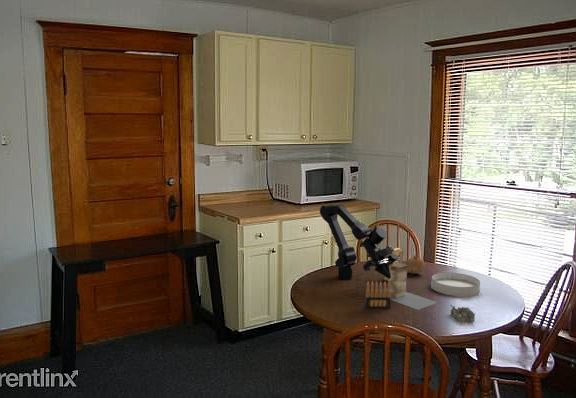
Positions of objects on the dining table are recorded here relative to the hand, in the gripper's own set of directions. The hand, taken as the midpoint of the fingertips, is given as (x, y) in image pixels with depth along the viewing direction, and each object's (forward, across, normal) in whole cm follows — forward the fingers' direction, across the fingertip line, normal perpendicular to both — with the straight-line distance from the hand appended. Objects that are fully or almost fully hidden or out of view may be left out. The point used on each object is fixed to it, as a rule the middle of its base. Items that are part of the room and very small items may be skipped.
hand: (390, 278), depth 240 cm
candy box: (-3, +17, +14) cm, 22 cm away
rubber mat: (+11, 0, -1) cm, 11 cm away
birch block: (+8, 0, +1) cm, 8 cm away
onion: (-3, +33, +13) cm, 36 cm away
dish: (+16, +30, -5) cm, 34 cm away
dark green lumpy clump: (+32, +1, -21) cm, 38 cm away
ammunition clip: (+12, -18, -1) cm, 22 cm away
